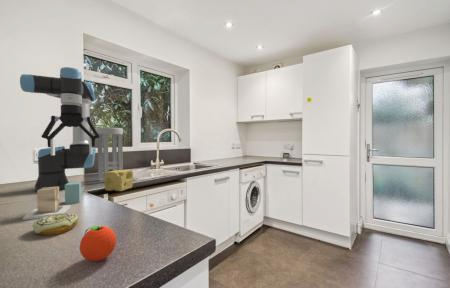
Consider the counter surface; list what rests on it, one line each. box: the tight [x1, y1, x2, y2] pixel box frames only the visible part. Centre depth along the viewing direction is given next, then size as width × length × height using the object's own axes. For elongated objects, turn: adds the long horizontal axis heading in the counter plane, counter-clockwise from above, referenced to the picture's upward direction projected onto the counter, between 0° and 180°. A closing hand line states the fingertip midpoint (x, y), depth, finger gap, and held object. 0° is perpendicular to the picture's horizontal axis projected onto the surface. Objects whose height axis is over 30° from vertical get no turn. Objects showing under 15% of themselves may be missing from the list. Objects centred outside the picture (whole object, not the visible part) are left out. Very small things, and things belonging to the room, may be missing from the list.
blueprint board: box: [22, 204, 72, 221], centre depth 79 cm, size 11×11×1 cm
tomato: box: [79, 225, 117, 262], centre depth 47 cm, size 8×7×7 cm
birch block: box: [36, 187, 60, 213], centre depth 79 cm, size 5×5×8 cm
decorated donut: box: [32, 212, 79, 237], centre depth 64 cm, size 10×11×4 cm
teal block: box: [64, 181, 83, 205], centre depth 93 cm, size 5×5×8 cm
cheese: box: [104, 169, 134, 192], centre depth 118 cm, size 10×11×10 cm
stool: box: [95, 127, 124, 183], centre depth 145 cm, size 16×16×35 cm
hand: (72, 154), depth 93 cm, fingers open, 13 cm apart
